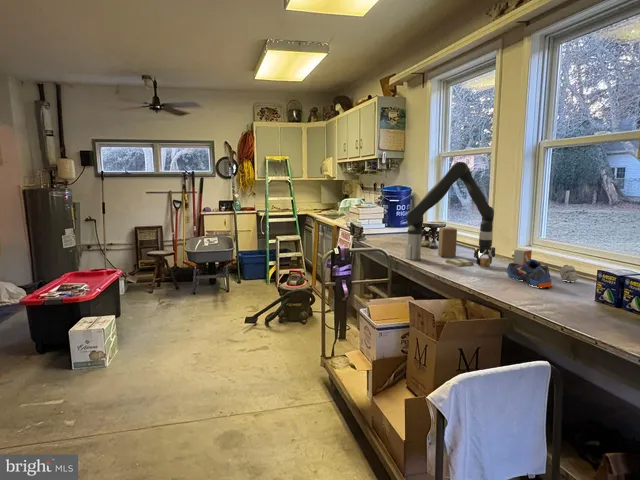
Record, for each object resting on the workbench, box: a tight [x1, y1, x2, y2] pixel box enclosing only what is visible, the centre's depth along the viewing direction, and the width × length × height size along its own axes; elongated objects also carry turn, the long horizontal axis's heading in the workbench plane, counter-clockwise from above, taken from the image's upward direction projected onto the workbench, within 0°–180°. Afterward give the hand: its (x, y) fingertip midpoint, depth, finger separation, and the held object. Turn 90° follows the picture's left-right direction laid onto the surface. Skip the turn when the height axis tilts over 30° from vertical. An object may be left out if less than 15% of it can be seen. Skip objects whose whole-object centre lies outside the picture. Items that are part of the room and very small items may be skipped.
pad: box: [445, 258, 474, 267], centre depth 267 cm, size 12×12×2 cm
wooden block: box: [437, 227, 458, 258], centre depth 290 cm, size 10×10×20 cm
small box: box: [513, 248, 532, 265], centre depth 245 cm, size 8×6×13 cm
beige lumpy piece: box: [559, 264, 578, 282], centre depth 222 cm, size 6×7×10 cm
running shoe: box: [506, 259, 553, 289], centre depth 221 cm, size 12×32×13 cm, turn 10°
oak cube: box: [477, 257, 491, 268], centre depth 259 cm, size 5×5×5 cm
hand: (484, 264), depth 260 cm, fingers open, 8 cm apart
